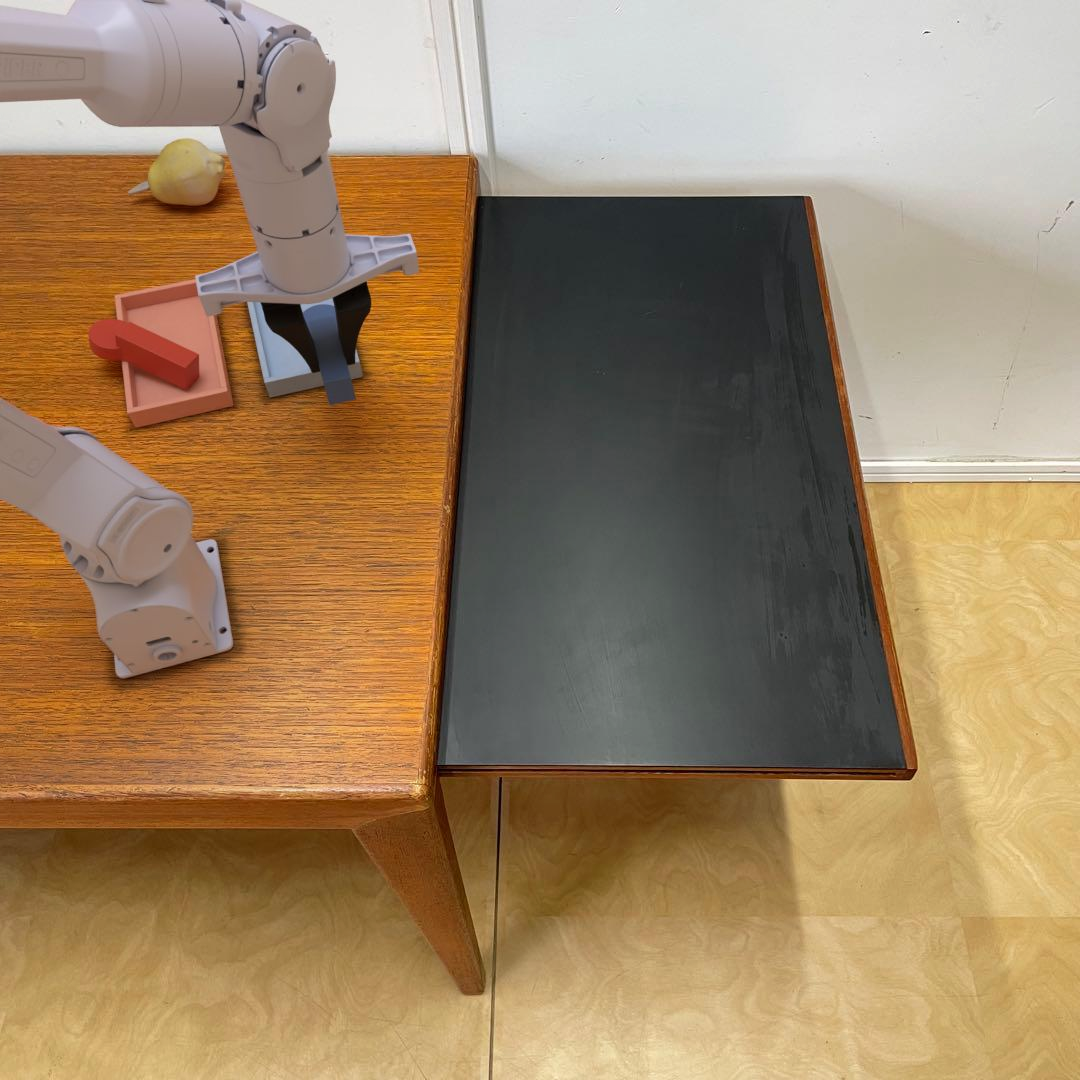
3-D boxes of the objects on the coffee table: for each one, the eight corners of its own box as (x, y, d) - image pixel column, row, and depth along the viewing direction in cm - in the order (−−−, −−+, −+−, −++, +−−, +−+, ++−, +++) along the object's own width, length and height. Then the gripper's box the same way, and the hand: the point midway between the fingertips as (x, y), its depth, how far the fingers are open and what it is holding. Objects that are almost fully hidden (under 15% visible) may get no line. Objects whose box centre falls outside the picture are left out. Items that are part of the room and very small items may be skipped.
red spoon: (205, 370, 78) (204, 348, 76) (181, 396, 76) (180, 373, 74) (107, 324, 78) (104, 301, 76) (80, 348, 76) (76, 325, 74)
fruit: (133, 183, 92) (229, 154, 92) (145, 234, 90) (243, 205, 91) (104, 146, 86) (206, 115, 86) (116, 200, 85) (221, 168, 85)
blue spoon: (366, 397, 69) (361, 374, 67) (318, 408, 68) (312, 384, 66) (342, 312, 73) (337, 288, 71) (297, 322, 73) (290, 297, 71)
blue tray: (363, 377, 79) (359, 361, 77) (269, 398, 77) (264, 382, 76) (331, 268, 86) (328, 252, 84) (245, 285, 84) (240, 269, 83)
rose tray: (233, 406, 77) (227, 391, 75) (135, 428, 75) (127, 413, 74) (212, 292, 84) (206, 276, 82) (122, 310, 82) (114, 294, 81)
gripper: (392, 149, 61) (413, 302, 72) (168, 189, 58) (227, 341, 70) (417, 217, 57) (435, 367, 69) (179, 263, 55) (239, 410, 66)
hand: (331, 359), depth 69 cm, fingers closed on blue spoon, 2 cm apart
